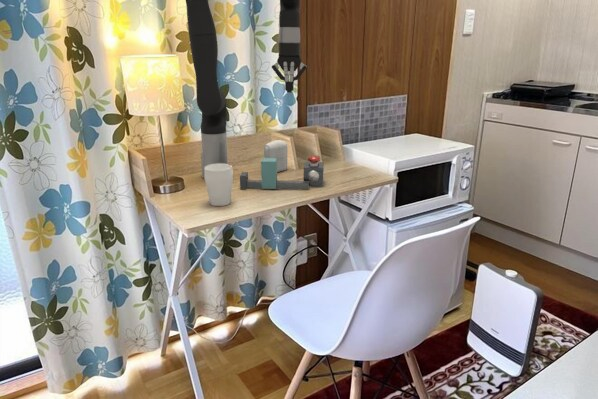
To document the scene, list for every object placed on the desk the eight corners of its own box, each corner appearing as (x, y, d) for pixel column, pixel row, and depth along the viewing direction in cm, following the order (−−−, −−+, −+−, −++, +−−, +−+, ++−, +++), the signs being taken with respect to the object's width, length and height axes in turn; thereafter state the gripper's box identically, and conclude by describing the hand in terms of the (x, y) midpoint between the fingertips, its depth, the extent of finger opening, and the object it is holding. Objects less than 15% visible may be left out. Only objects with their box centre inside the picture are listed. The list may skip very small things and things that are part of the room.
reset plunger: (307, 177, 166) (307, 158, 164) (308, 174, 170) (308, 155, 168) (319, 178, 166) (319, 158, 164) (319, 174, 170) (320, 155, 168)
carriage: (261, 188, 162) (261, 161, 159) (263, 184, 166) (262, 158, 163) (275, 189, 162) (275, 161, 158) (277, 185, 166) (276, 158, 162)
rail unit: (240, 189, 162) (239, 170, 160) (246, 178, 175) (246, 160, 172) (322, 191, 161) (323, 172, 158) (323, 180, 173) (323, 162, 170)
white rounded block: (282, 167, 189) (281, 137, 184) (289, 169, 186) (289, 139, 181) (262, 172, 182) (261, 141, 178) (269, 174, 179) (269, 143, 175)
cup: (209, 209, 144) (207, 172, 140) (203, 200, 152) (201, 165, 148) (237, 205, 148) (236, 169, 144) (230, 196, 156) (228, 162, 151)
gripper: (309, 41, 163) (308, 91, 169) (271, 40, 164) (272, 90, 170) (307, 41, 156) (307, 93, 162) (269, 41, 157) (269, 93, 163)
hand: (289, 92), depth 166 cm, fingers closed
